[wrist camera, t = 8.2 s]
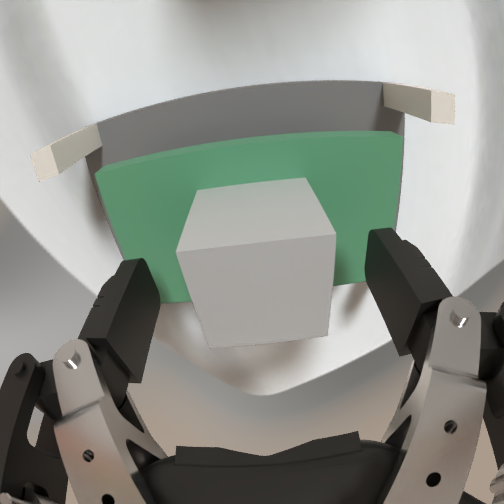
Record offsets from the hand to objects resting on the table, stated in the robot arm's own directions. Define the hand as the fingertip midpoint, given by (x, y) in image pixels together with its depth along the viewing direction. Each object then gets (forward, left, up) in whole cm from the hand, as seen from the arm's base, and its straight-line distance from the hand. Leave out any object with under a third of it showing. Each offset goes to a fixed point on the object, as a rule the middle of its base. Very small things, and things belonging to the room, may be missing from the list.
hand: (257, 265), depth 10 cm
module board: (0, 0, -3) cm, 3 cm away
